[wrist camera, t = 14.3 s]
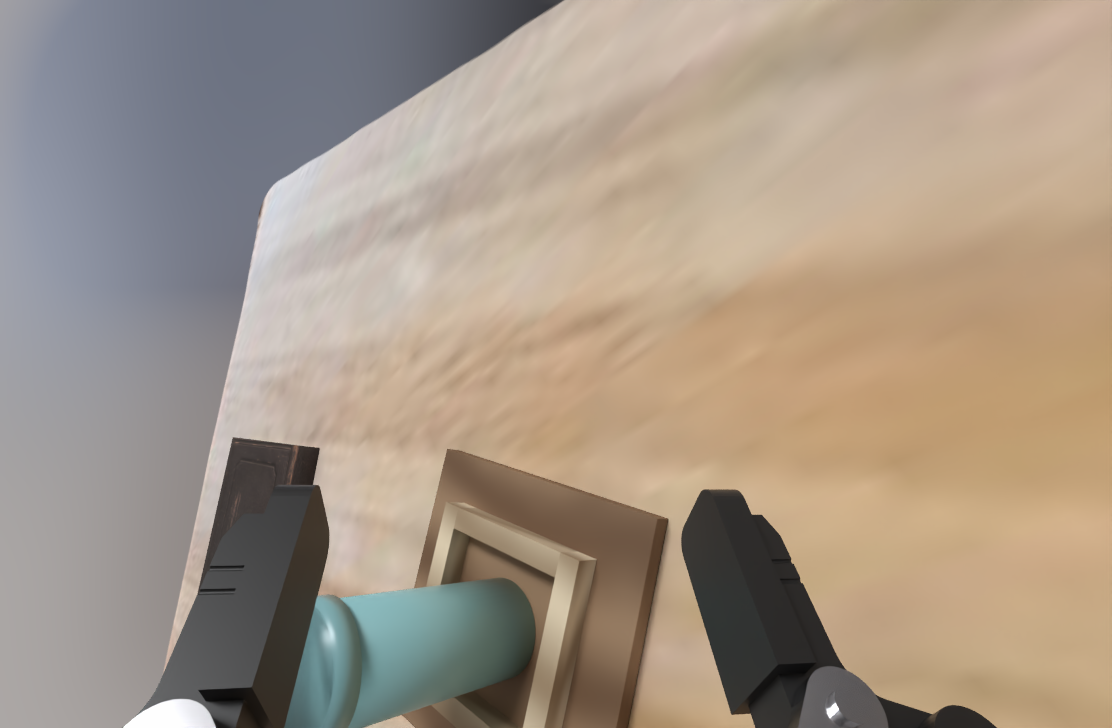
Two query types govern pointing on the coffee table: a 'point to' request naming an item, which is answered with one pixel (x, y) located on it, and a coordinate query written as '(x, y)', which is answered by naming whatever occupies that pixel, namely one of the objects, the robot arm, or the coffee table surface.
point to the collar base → (546, 592)
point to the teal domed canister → (408, 650)
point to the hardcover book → (256, 482)
